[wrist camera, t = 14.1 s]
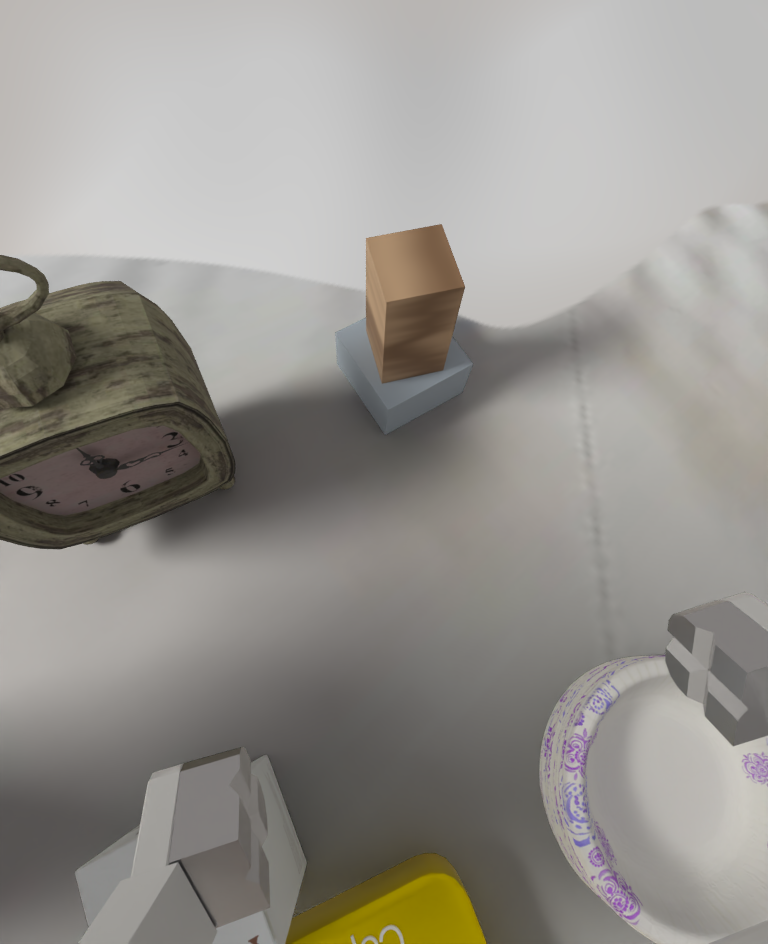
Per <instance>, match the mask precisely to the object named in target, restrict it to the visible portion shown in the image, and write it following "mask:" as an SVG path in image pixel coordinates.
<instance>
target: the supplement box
mask: <svg viewBox="0 0 768 944" xmlns="http://www.w3.org/2000/svg"><path fill="white" fill-rule="evenodd" d="M251 774H253V775H255V776H257V777H258V779H259V782H260V784H261V787H262V791H263V795H264V799H265V806H266V813H267V826H268V836H267V838H266V840H265V842H264V844H263V846H262V848H263V850H264V853H265V855H266V857H267V860H268V862H269V884H270V908H268V909H265V910H263V911H260V912H257V913H255V914H252V915H249V916H247V917H244V918H242V919H239V920H236V921H234V922H231V923H228V924H226V925H223V926H221V927H218V928H216V930H217V934H216V936H215V938H214V941H213V943H212V944H285V942H286V938H287V935H288V931H289V927H290V924H291V920H292V916H293V913H294V909H295V906H296V902H297V898H298V895H299V891H300V887H301V884H302V880H303V876H304V873H305V869H306V865H307V861H306V858H305V856H304V853H303V850H302V848H301V845H300V842H299V839H298V837H297V834H296V831H295V829H294V826H293V823H292V820H291V818H290V815H289V813H288V810H287V807H286V804H285V801H284V799H283V796H282V793H281V790H280V788H279V785H278V782H277V779H276V777H275V774H274V771H273V768H272V766H271V763H270V761H269V758H268V756H267V755H263V756H262V757H260V758H258V759H257V760H255V761H253V762H251ZM139 828H140V825H139V826H137V827H136V828H134V829H133V830H131V831H130V832H129V833H127V834H126V835H124V836H123V837H122V838H120V839H119V840H117V841H116V842H115V843H113V844H112V845H111V846H109V847H108V848H107V849H105V850H104V851H102V852H101V853H100V854H98V855H97V856H95V857H94V858H93V859H91V860H90V861H88V862H87V863H86V864H84V865H83V866H81V867H80V868H78V869H77V870H76V871H75V877H76V880H77V884H78V888H79V892H80V896H81V900H82V904H83V908H84V912H85V916H86V920H87V924H88V928H89V927H90V925H91V924H92V922H93V921H94V919H95V918H96V916H97V915H98V913H99V912H100V910H101V909H102V908H103V906H104V905H105V903H106V902H107V900H108V899H109V897H110V896H111V894H112V893H113V891H114V890H115V889H116V887H117V886H118V884H119V883H120V881H122V880H124V879H127V878H130V877H131V872H132V867H133V861H134V856H135V850H136V845H137V839H138V834H139Z"/></svg>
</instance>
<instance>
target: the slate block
mask: <svg viewBox="0 0 768 944" xmlns="http://www.w3.org/2000/svg"><path fill="white" fill-rule="evenodd" d="M335 336H336V352H337V364H338V366H339V367H340V369H341V370H342V372H343V373H344V375H345V376H346V378H347V379H348V381H349V382H350V384H351V385H352V387H353V388H354V390H355V391H356V393H357V394H358V396H359V397H360V399H361V400H362V402H363V403H364V405H365V406H366V407H367V409H368V410H369V412H370V413H371V415H372V416H373V418H374V419H375V421H376V422H377V424H378V425H379V427H380V428H381V430H382V431H383V433H384V434H385V435H386V434H388V433H390V432H392V431H394V430H395V429H397V428H399V427H401V426H403V425H404V424H406V423H408V422H410V421H412V420H413V419H415V418H417V417H419V416H421V415H423V414H424V413H426V412H428V411H430V410H432V409H433V408H435V407H437V406H439V405H441V404H442V403H444V402H446V401H448V400H450V399H451V398H453V397H455V396H457V395H459V394H460V393H462V392H463V390H464V387H465V384H466V382H467V379H468V377H469V374H470V371H471V369H472V366H473V363H472V361H471V360H470V359H469V357H468V356H467V355H466V354H465V352H464V351H463V350H462V348H461V347H460V346H459V344H458V343H457V342H456V340H455V339H454V338H453V336H452V339H451V342H450V346H449V350H448V354H447V358H446V362H445V365H444V369H443V370H442V371H438V372H433V373H429V374H424V375H419V376H415V377H410V378H406V379H401V380H396V381H392V382H387V383H383V384H382V383H381V379H380V376H379V372H378V369H377V366H376V362H375V359H374V355H373V352H372V349H371V345H370V342H369V338H368V335H367V332H366V318H364V319H362V320H360V321H358V322H356V323H354V324H352V325H350V326H348V327H346V328H344V329H342V330H339V331H337V332H335Z"/></svg>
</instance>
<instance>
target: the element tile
mask: <svg viewBox="0 0 768 944" xmlns="http://www.w3.org/2000/svg"><path fill="white" fill-rule="evenodd" d="M285 944H487V942H486V939H485V937H484V934H483V932H482V929H481V926H480V924H479V921H478V919H477V916H476V913H475V911H474V908H473V906H472V903H471V900H470V898H469V896H468V894H467V892H466V890H465V888H464V886H463V884H462V882H461V880H460V878H459V876H458V874H457V872H456V870H455V869H454V867H453V866H452V865H451V864H450V863H449V861H448V860H447V859H446V858H444V857H442V856H440V855H438V854H436V853H424V854H421V855H417V856H414V857H412V858H410V859H408V860H406V861H404V862H403V863H401V864H399V865H397V866H395V867H393V868H391V869H389V870H387V871H385V872H383V873H381V874H379V875H377V876H375V877H373V878H371V879H369V880H367V881H365V882H363V883H361V884H359V885H357V886H355V887H353V888H351V889H349V890H347V891H345V892H343V893H341V894H339V895H337V896H335V897H333V898H331V899H329V900H327V901H325V902H323V903H321V904H319V905H317V906H315V907H313V908H312V909H310V910H308V911H306V912H304V913H302V914H300V915H298V916H296V917H294V918H292V920H291V924H290V927H289V931H288V935H287V938H286V942H285Z"/></svg>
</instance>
